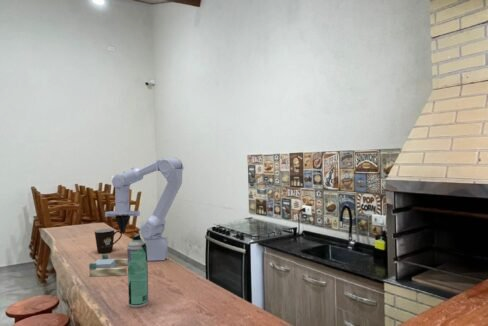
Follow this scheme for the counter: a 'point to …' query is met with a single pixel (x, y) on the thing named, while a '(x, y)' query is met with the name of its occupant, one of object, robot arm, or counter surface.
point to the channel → (109, 270)
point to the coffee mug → (105, 240)
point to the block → (105, 263)
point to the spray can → (137, 272)
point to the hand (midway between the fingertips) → (122, 232)
